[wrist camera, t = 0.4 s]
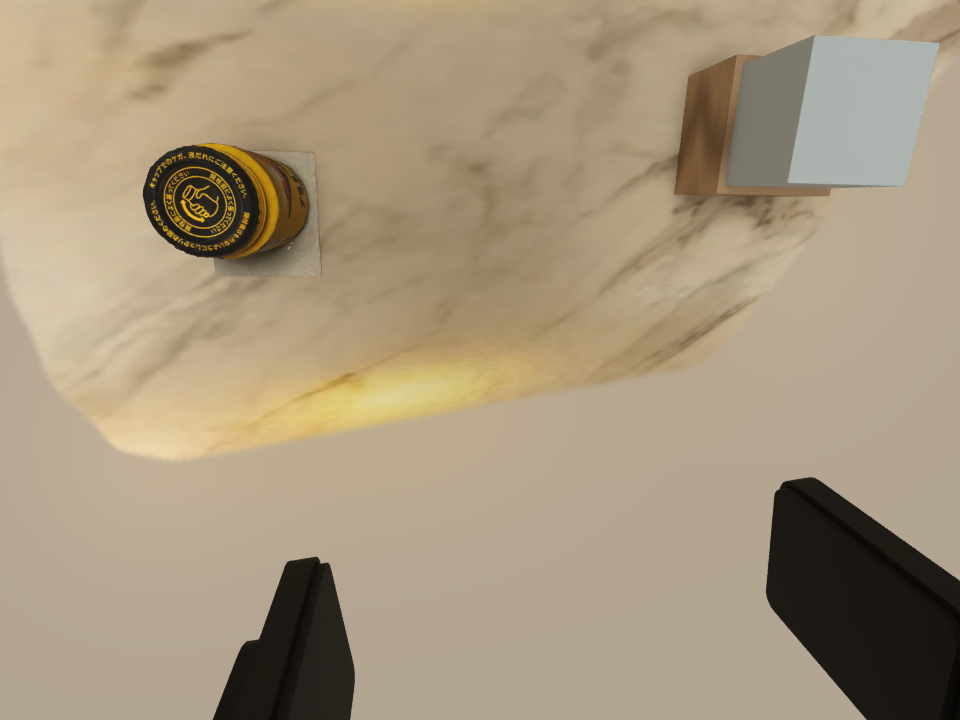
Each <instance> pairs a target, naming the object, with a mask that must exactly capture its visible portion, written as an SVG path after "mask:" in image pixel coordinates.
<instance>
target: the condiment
mask: <svg viewBox="0 0 960 720" xmlns="http://www.w3.org/2000/svg"><path fill="white" fill-rule="evenodd" d="M143 199H144V203H145V208H146V212H147V215H148V218H149V220H150V222H151V223H152V225H153V227H154V228H155V230H156V231H157V232H158V233H159V234H160V235H161V236H162V237H163V238H164V239H166V240H167V241H168V242H169V243H170V244H172V245H174V246H175V248H176V249H179V250H181V251H184V252H185V253H187V254H190V255H195V256H197V257H207V258H208V257H212V258H214V265H215V273H216V276H315V277H316V276H318V277H321V262H320V246H319V228H318V208H317V192H316V177H315V160H314V153H308V152H281V151H256V150H244V149H240V148H238V147H236V146H228V145H224V144H217V143H206V144H199V145H192V146H183V147H181V148H177V149H175V150H173V151H169V152H167V153H166V154H165V155H163V156H162V157H160V158H159V159H158V161H156V162H155V163H154V165H153V166H151V167H150V170H149V172H148V175H147V179H146V182H145V185H144V188H143ZM291 242H294V244H293V245H291V244H290V243H291ZM288 246H291V248H290V250H287V248H288Z"/></svg>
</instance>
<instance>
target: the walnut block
mask: <svg viewBox="0 0 960 720" xmlns="http://www.w3.org/2000/svg"><path fill="white" fill-rule="evenodd" d="M760 57H763V56H752V55H735V56H733V57H731V58H728V59H726V60H724V61H722V62H720V63H717V64H715V65H713V66H711V67H708V68H706V69H704V70H702V71H700V72H697V73H695V74H693V75H691V76H689V78H688V86H687V94H686V102H685V110H684V119H683V127H682V135H681V143H680V151H679V159H678V167H677V175H676V184H675V192H674V194H687V195H732V196H829V195H830V190H831V188H797V187H759V186H725V182H726V176H727V169H728V162H729V156H730V149H731V143H732V136H733V129H734V123H735V116H736V110H737V103H738V96H739V90H740V83H741V77H742V70H743V64H746V63H748V62H751V61H753V60H755V59H758V58H760Z"/></svg>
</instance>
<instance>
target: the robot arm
mask: <svg viewBox="0 0 960 720" xmlns="http://www.w3.org/2000/svg"><path fill="white" fill-rule="evenodd" d="M766 595H767V599H768V602H769V604H770V606H771V608H772V609H773V610H774V612H775V613H776V614H777V615H778V616H779V618H780V619H781V620H782V621H783V622H784V623H785V625H786V626H787V627H788V628H789V629H790V630H791V632H792V633H793V634H794V635H795V636H796V637H797V639H798V640H799V641H800V642H801V643H802V645H803V646H804V647H805V648H806V649H807V650H808V651H809V653H810V654H811V655H812V656H813V657H814V659H815V660H816V661H817V662H818V663H819V664H820V666H821V667H822V668H823V669H824V670H825V671H826V673H827V674H828V675H829V676H830V677H831V678H832V679H833V681H834V682H835V683H836V684H837V685H838V687H839V688H840V689H841V690H842V691H843V692H844V694H845V695H846V696H847V697H848V698H849V699H850V701H851V702H852V703H853V704H854V705H855V707H856V708H857V709H858V710H859V711H860V712H861V714H862V715H863V716H864V717H865V718H866V719H867V720H960V581H959V580H958V579H957V578H955V577H954V576H952V575H951V574H950V573H948V572H947V571H945V570H944V569H943V568H941V567H940V566H938V565H937V564H935V563H934V562H932V561H931V560H930V559H928V558H927V557H926V556H924V555H923V554H922V553H920V552H919V551H917V550H916V549H915V548H913V547H912V546H910V545H909V544H908V543H906V542H905V541H903V540H902V539H900V538H899V537H898V536H896V535H895V534H894V533H892V532H891V531H889V530H888V529H887V528H885V527H884V526H882V525H881V524H879V523H878V522H877V521H875V520H874V519H873V518H871V517H870V516H868V515H867V514H865V513H864V512H863V511H861V510H860V509H859V508H857V507H856V506H854V505H853V504H852V503H850V502H849V501H847V500H846V499H844V498H843V497H842V496H840V495H839V494H837V493H836V492H835V491H833V490H832V489H830V488H829V487H828V486H826V485H825V484H824V483H822V482H821V481H819V480H817V479H816V478H811V477H809V478H803V479H796V480H790V481H786V482H783V483H782V485H781V487H780V489H779V490H777V491H776V493H775V496H774V506H773V517H772V529H771V540H770V552H769V562H768V574H767V585H766ZM354 684H355V672H354V664H353V660H352V655H351V651H350V648H349V643H348V639H347V634H346V630H345V626H344V622H343V617H342V613H341V609H340V605H339V601H338V597H337V592H336V588H335V584H334V580H333V575H332V571H331V568H330V565H329V563H323V564H321V563H320V560H319V558H318V557H312V558H306V559H300V560H294V561H288V562H287V564H286V565H285V568H284V570H283V573H282V576H281V579H280V582H279V585H278V587H277V590H276V593H275V596H274V599H273V602H272V604H271V607H270V610H269V613H268V616H267V619H266V621H265V624H264V627H263V630H262V633H261V636H260V638H259V639H258V640H253V641H247V642H246V643H245V644H244V645H243V646H242V647H241V649H240V651H239V654H238V656H237V658H236V661H235V664H234V666H233V669H232V671H231V674H230V676H229V679H228V682H227V684H226V687H225V689H224V692H223V694H222V697H221V700H220V702H219V705H218V707H217V710H216V713H215V715H214V718H213V720H350V717H351V708H352V701H353V693H354Z"/></svg>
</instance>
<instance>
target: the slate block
mask: <svg viewBox="0 0 960 720" xmlns="http://www.w3.org/2000/svg"><path fill="white" fill-rule="evenodd" d="M939 44H940V43H933V42H917V41H901V40H886V39H870V38H854V37H838V36H823V35H814V36H811V37H809V38H806V39H804V40H802V41H799V42H797V43H794V44H792V45H789V46H787V47H785V48H782V49H780V50H777V51H775V52H772V53H770V54H768V55H765V56H763V57H760V58H758V59H755V60H753V61H751V62H748V63H746V64H743V70H742V77H741V83H740V90H739V96H738V103H737V110H736V116H735V123H734V129H733V136H732V143H731V149H730V156H729V162H728V169H727V176H726V182H725V186H759V187H797V188H852V187H889V186H904V185H905V180H906V177H907V173H908V169H909V165H910V161H911V157H912V152H913V149H914V145H915V141H916V137H917V133H918V129H919V124H920V121H921V117H922V112H923V108H924V104H925V100H926V96H927V92H928V88H929V84H930V80H931V76H932V72H933V68H934V64H935V60H936V56H937V52H938V48H939Z"/></svg>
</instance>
